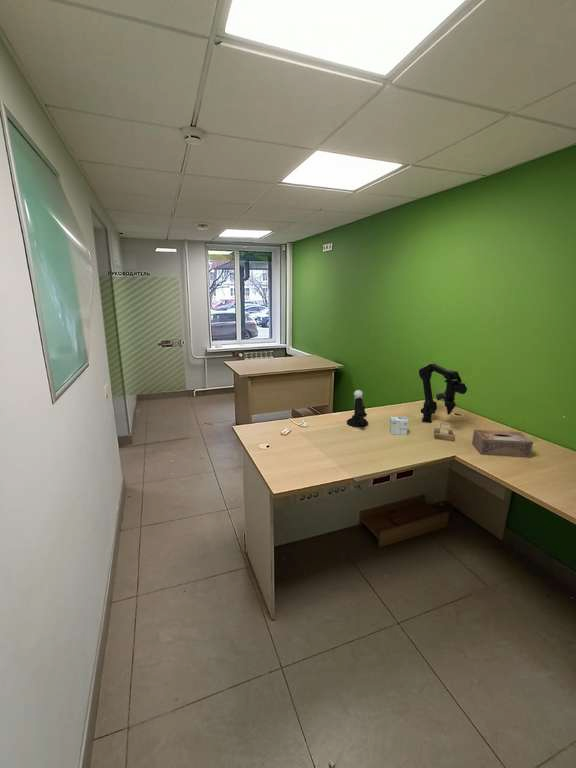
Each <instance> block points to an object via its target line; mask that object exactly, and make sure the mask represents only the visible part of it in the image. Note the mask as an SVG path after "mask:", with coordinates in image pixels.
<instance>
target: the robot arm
mask: <svg viewBox="0 0 576 768" xmlns="http://www.w3.org/2000/svg"><path fill="white" fill-rule="evenodd" d="M433 372H435V373H437V374H439V375H442V376H443V378H444V379H445V380H443V381H444V382H445V383H446V386H445V390H444V392H441V393H440V392H439V393H436V394H435V396H436V397H435V398H436V401H435V400H434V399H433V392H432V391H433V390H432V384H431V378H432V376H433ZM418 375H419V378H420V379H421V380H422V385H423V393H424V403H423V407H422V408H421V409H420V413H421V414H423V415H422V418H421V422H422V423H433V421H432V418H433V417H432V415H433V414H436V411H437V410H438V403H437V401H440V400H443V401H444V407H446V412H447V413H446V414H447V415H450V414H451V413H452V411H453V410H454V408H456V404H457V403H456V401H455V400H456V394H457V393H458V394H460V395H464V394H466V393H467V391H468V387H467V386H466V383H464V382H463V381H462V379H461V376H460V374H459V372H458V371H457V370H453V369H451V370H450V369H447V368H445V367H442V366H440V365H438V364H437V363H430V364H427V365H426V366H424V367H421V368H420V369H418Z"/></svg>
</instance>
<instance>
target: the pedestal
mask: <svg viewBox="0 0 576 768" xmlns="http://www.w3.org/2000/svg"><path fill="white" fill-rule="evenodd" d="M433 429H434V431H433V436H434V437H433V438H434V439H433V440H441V441H447V442H454V439H455V436H454V430H453V429H452V430H451V429H449V433H448V434H441V433H440V428H433Z"/></svg>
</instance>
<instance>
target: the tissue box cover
mask: <svg viewBox="0 0 576 768" xmlns="http://www.w3.org/2000/svg"><path fill="white" fill-rule="evenodd" d="M533 444H534V442H533V440H531V439H530V438H529V437H527V436H526V435H525V434H524V433H523V432H521V431H510V430H509V431H508V430H492V429H473V435H472V440H471V445H472V446H473V447H474V448H475V450H476V451H477V452H478V454H479V455H480V456H494V457H509V458H511V457H512V458H528V459H531V454H532V451H533Z"/></svg>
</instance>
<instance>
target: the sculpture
mask: <svg viewBox="0 0 576 768" xmlns="http://www.w3.org/2000/svg"><path fill="white" fill-rule="evenodd" d="M353 395H354V399H353V402H354V404H353V405H354V411H353V415H352V416H351V417H350V418H348V419H347V420H346V425H348V426H349V427H351V426H352V427H353V428H366V427H367V426H368V425H369V421H368V420H367V419H366V418H365V417H367V416H368V414H367V412H366V410H365V409H366V406H365V405H364V402H363V399H364V398H363V396H364V392H363V391H362V390H360V389H357V390H355V391H354V392H353Z"/></svg>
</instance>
